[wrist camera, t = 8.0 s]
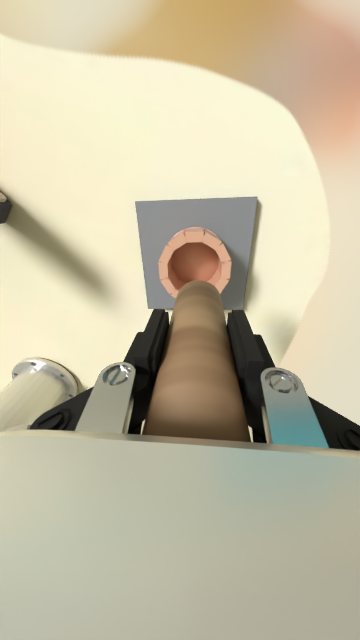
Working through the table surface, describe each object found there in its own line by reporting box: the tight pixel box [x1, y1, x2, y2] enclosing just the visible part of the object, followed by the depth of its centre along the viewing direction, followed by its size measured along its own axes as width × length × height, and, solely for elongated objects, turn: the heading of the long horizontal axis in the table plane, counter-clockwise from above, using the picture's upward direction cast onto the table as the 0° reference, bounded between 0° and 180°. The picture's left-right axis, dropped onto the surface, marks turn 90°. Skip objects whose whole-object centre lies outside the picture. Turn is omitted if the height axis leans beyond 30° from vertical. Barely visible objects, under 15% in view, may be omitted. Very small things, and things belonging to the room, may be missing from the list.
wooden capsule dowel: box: [142, 280, 251, 442], centre depth 9 cm, size 3×3×12 cm
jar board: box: [135, 197, 257, 309], centre depth 25 cm, size 14×14×6 cm
